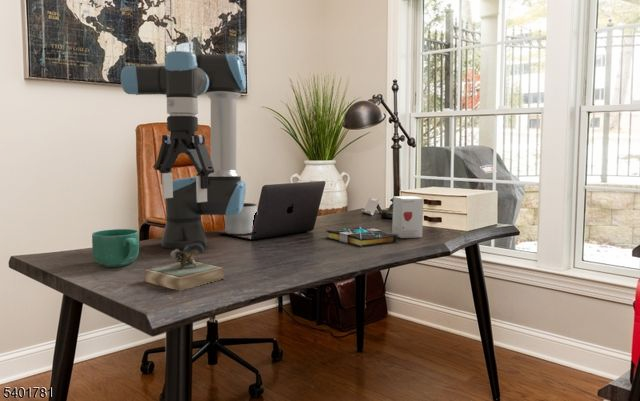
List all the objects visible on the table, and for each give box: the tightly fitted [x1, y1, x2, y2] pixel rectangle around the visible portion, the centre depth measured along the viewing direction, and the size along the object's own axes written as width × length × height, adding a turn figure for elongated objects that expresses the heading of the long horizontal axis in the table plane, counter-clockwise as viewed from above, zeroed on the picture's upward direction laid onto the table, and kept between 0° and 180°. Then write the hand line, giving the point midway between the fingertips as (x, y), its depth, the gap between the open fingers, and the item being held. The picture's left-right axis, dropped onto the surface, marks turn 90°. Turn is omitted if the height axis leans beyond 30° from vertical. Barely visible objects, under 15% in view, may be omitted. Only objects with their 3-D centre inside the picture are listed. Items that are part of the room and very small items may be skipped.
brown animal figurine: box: [170, 240, 208, 269], centre depth 139 cm, size 8×7×9 cm
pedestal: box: [144, 262, 225, 292], centre depth 137 cm, size 14×14×3 cm
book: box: [325, 226, 399, 248], centre depth 196 cm, size 22×17×5 cm
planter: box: [224, 202, 258, 235], centre depth 209 cm, size 12×13×11 cm
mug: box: [91, 228, 140, 268], centre depth 153 cm, size 17×13×10 cm
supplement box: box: [391, 195, 424, 239], centre depth 204 cm, size 9×9×15 cm
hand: (184, 200), depth 136 cm, fingers open, 13 cm apart
